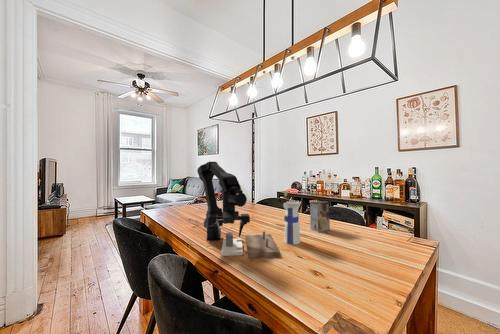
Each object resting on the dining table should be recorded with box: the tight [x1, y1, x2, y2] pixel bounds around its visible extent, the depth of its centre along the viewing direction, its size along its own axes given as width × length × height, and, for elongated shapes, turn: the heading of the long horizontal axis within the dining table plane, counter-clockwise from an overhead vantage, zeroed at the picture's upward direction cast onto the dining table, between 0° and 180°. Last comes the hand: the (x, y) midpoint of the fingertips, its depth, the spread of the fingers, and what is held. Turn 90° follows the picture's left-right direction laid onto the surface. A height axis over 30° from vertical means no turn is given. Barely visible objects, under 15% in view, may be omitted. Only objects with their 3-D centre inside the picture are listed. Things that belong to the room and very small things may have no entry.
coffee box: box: [309, 200, 331, 233], centre depth 123 cm, size 9×6×16 cm
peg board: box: [244, 230, 281, 259], centre depth 99 cm, size 13×22×6 cm, turn 4°
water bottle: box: [283, 190, 301, 246], centre depth 105 cm, size 8×9×25 cm
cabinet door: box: [220, 232, 244, 257], centre depth 98 cm, size 9×16×6 cm, turn 4°
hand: (229, 237), depth 98 cm, fingers open, 9 cm apart
